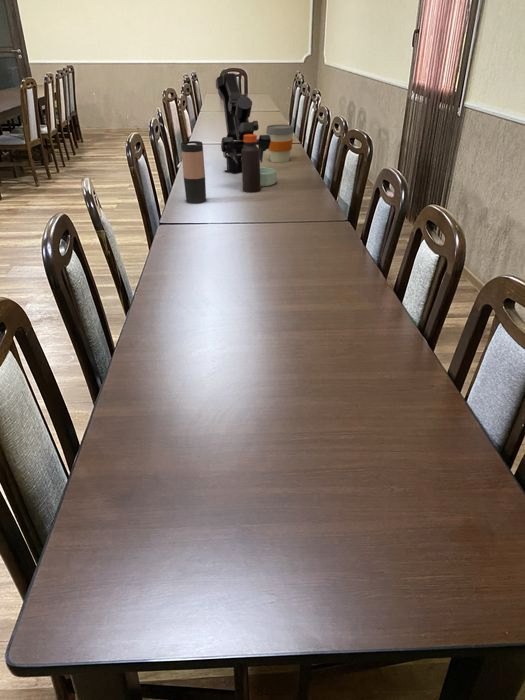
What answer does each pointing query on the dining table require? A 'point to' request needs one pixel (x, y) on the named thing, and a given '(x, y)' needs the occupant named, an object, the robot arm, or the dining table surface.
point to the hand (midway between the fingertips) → (249, 162)
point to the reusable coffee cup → (280, 142)
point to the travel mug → (193, 171)
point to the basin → (267, 176)
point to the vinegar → (250, 164)
